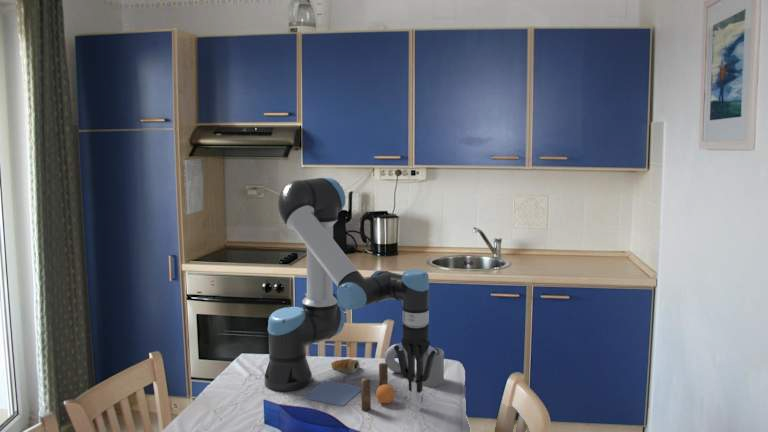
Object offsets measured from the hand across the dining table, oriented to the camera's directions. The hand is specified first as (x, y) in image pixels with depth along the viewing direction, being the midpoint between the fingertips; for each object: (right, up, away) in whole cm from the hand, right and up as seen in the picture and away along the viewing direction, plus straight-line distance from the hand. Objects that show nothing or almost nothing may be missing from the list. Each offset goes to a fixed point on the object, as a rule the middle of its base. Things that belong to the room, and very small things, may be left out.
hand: (415, 401), depth 193 cm
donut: (-4, +2, +27) cm, 27 cm away
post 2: (-9, 0, +11) cm, 15 cm away
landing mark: (-25, 0, +11) cm, 27 cm away
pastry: (-22, +2, +30) cm, 37 cm away
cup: (+6, +1, +19) cm, 20 cm away
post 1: (-14, -2, 0) cm, 15 cm away
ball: (-9, +1, +4) cm, 10 cm away
